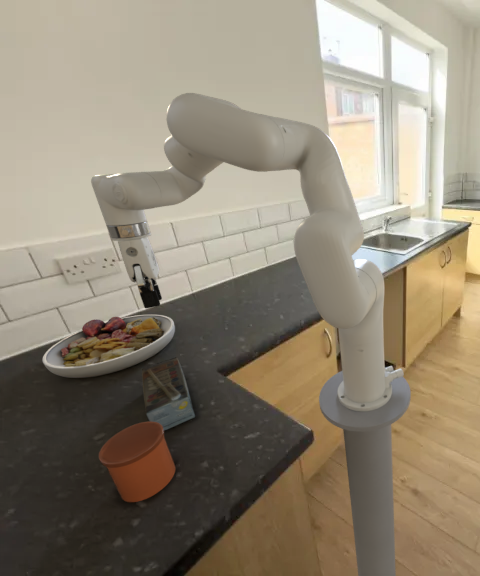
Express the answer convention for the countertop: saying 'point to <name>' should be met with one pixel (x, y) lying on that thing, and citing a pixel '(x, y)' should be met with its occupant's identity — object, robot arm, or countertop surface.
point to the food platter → (109, 346)
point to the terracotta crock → (138, 461)
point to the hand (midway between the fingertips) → (153, 303)
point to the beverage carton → (166, 394)
